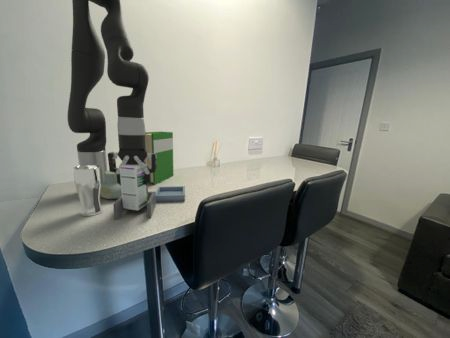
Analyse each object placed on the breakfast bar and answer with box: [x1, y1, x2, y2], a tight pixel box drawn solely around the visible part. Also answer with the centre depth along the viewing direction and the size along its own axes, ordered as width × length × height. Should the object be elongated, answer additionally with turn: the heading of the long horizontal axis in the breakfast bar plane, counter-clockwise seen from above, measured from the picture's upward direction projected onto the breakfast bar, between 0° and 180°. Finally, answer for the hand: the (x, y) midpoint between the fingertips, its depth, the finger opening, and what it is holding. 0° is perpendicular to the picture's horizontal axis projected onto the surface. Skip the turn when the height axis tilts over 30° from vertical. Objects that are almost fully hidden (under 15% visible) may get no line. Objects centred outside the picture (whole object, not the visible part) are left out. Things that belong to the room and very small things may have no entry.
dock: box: [112, 191, 157, 220], centre depth 66 cm, size 10×10×5 cm
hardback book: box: [145, 131, 174, 185], centre depth 102 cm, size 18×7×24 cm, turn 166°
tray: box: [155, 185, 186, 203], centre depth 81 cm, size 11×11×2 cm
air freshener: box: [100, 170, 122, 200], centre depth 77 cm, size 11×8×10 cm
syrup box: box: [120, 163, 149, 211], centre depth 65 cm, size 6×6×14 cm
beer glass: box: [73, 165, 104, 217], centre depth 63 cm, size 7×7×15 cm
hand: (134, 184), depth 65 cm, fingers closed on syrup box, 7 cm apart
